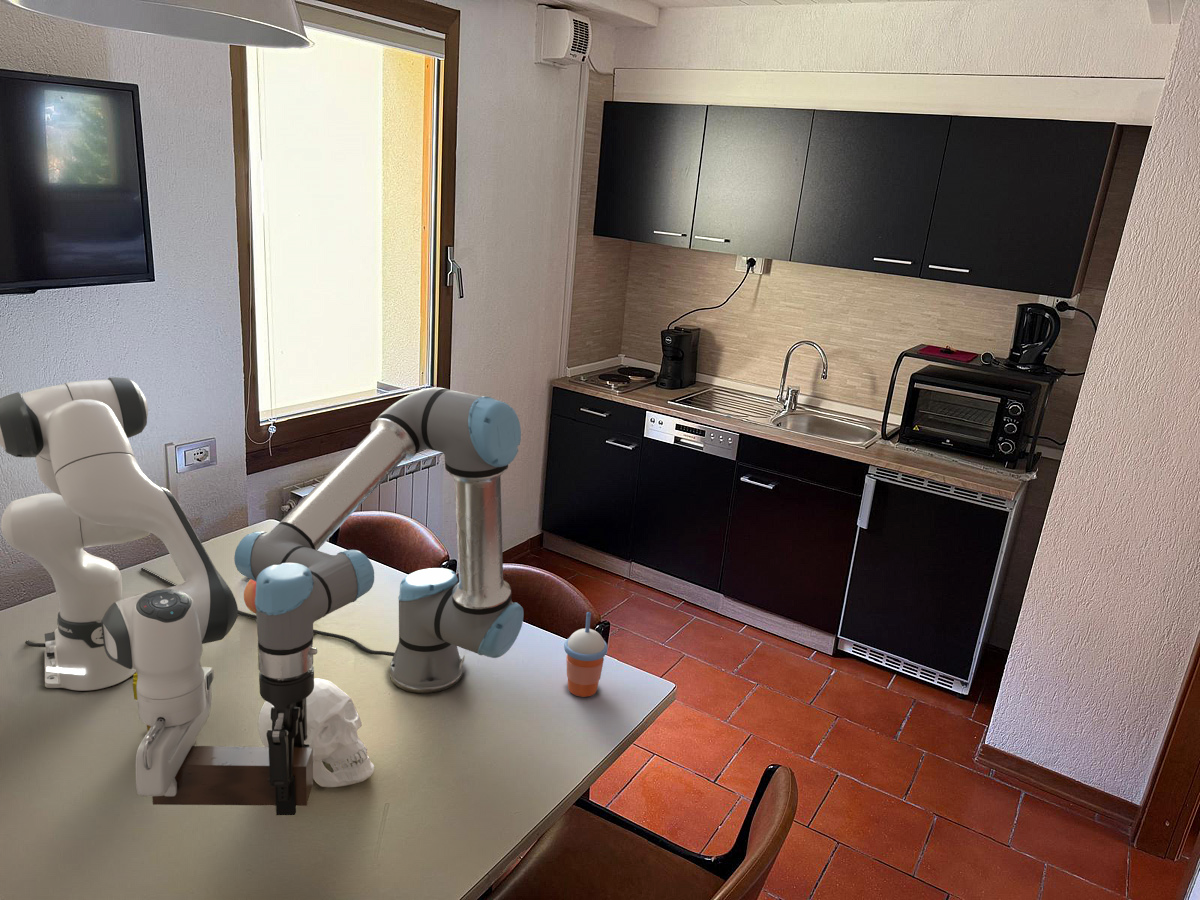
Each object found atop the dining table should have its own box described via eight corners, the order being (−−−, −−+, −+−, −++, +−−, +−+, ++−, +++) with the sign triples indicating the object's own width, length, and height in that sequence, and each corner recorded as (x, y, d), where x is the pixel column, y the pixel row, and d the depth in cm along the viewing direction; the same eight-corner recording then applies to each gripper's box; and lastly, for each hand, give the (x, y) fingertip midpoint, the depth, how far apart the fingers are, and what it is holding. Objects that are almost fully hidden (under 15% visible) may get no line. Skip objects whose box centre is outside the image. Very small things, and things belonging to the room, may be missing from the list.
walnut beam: (152, 804, 126) (150, 764, 124) (164, 784, 130) (162, 745, 128) (306, 805, 129) (306, 766, 127) (313, 785, 133) (312, 747, 131)
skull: (353, 805, 143) (354, 722, 139) (242, 771, 149) (240, 691, 144) (394, 760, 155) (396, 682, 151) (290, 730, 161) (289, 655, 157)
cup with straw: (599, 704, 176) (605, 627, 171) (556, 696, 178) (561, 619, 172) (607, 681, 185) (614, 606, 179) (566, 673, 186) (572, 599, 181)
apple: (273, 600, 207) (272, 562, 204) (297, 613, 202) (296, 575, 199) (237, 614, 200) (234, 575, 197) (261, 628, 194) (259, 588, 191)
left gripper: (168, 744, 114) (175, 829, 119) (217, 662, 134) (222, 737, 138) (118, 744, 114) (127, 829, 118) (175, 662, 133) (181, 737, 137)
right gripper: (298, 703, 116) (301, 843, 123) (326, 638, 133) (328, 764, 140) (240, 702, 115) (247, 843, 122) (276, 636, 132) (281, 764, 139)
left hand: (179, 779), depth 128 cm, fingers closed on walnut beam, 4 cm apart
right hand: (290, 801), depth 131 cm, fingers closed on walnut beam, 4 cm apart
